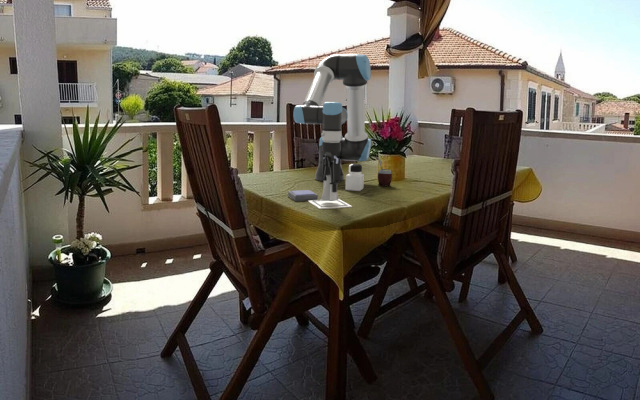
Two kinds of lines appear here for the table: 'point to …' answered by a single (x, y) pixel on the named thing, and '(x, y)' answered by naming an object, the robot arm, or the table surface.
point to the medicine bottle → (355, 178)
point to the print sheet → (329, 204)
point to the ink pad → (302, 195)
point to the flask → (327, 190)
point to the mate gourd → (384, 176)
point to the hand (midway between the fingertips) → (329, 197)
